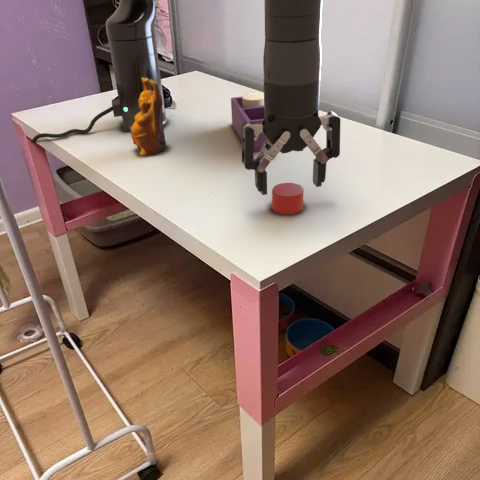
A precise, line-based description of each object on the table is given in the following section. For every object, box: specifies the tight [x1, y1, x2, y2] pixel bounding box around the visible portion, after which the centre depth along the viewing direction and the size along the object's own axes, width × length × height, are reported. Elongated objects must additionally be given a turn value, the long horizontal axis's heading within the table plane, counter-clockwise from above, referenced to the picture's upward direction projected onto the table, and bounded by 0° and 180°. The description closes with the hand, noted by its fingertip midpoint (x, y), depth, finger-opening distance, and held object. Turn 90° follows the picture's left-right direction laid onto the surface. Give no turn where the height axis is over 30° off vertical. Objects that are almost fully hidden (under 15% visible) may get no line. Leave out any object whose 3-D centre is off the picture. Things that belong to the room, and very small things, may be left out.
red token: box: [271, 182, 304, 215], centre depth 79 cm, size 5×5×3 cm
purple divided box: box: [230, 96, 267, 152], centre depth 102 cm, size 8×15×6 cm, turn 12°
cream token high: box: [241, 92, 264, 108], centre depth 103 cm, size 5×5×3 cm
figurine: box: [130, 78, 168, 157], centre depth 95 cm, size 6×7×13 cm
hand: (290, 188), depth 78 cm, fingers open, 8 cm apart
